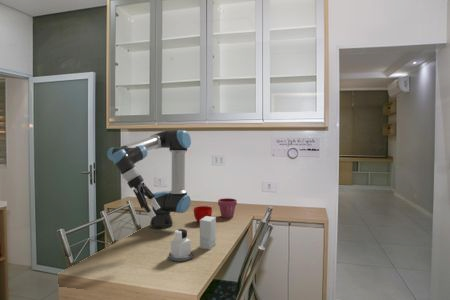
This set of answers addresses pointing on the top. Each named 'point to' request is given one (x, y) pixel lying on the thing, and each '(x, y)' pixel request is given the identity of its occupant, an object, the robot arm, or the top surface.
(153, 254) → the top surface
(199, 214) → the ceramic cup
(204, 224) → the skincare box
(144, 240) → the top surface
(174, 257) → the pad
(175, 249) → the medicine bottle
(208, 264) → the top surface
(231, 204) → the plant pot
